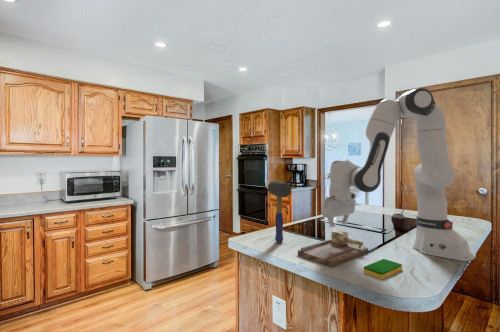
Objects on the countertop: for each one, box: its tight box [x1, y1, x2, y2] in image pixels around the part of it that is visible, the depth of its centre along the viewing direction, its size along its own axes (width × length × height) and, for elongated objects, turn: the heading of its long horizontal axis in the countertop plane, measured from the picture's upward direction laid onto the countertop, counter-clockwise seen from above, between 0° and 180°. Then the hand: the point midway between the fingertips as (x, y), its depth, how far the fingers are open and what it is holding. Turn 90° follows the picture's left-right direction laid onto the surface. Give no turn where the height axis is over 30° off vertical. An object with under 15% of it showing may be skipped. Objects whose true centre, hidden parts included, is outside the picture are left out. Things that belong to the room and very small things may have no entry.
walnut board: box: [297, 238, 369, 268], centre depth 119 cm, size 18×26×3 cm
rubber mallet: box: [267, 180, 292, 244], centre depth 135 cm, size 12×8×30 cm, turn 22°
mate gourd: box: [390, 202, 410, 231], centre depth 162 cm, size 8×8×15 cm
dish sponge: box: [363, 258, 403, 280], centre depth 102 cm, size 7×14×2 cm, turn 126°
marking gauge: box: [330, 229, 364, 248], centre depth 124 cm, size 14×4×5 cm, turn 38°
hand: (338, 225), depth 127 cm, fingers open, 8 cm apart
